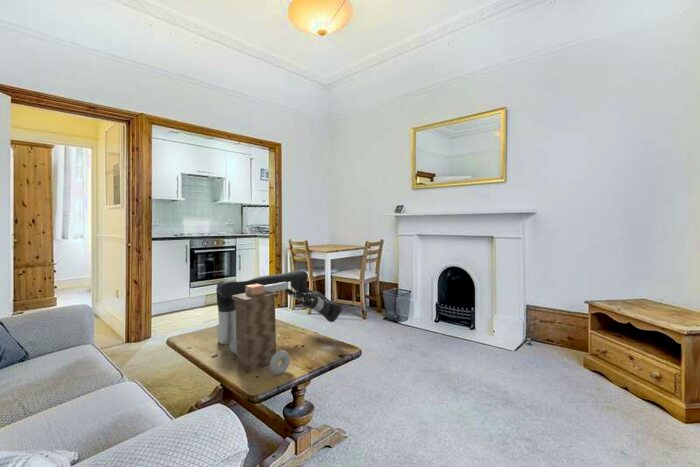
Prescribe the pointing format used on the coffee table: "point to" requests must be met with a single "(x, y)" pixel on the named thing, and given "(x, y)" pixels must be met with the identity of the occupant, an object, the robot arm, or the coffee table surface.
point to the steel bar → (264, 288)
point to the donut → (275, 359)
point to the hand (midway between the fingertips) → (291, 291)
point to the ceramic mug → (233, 346)
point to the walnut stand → (255, 330)
